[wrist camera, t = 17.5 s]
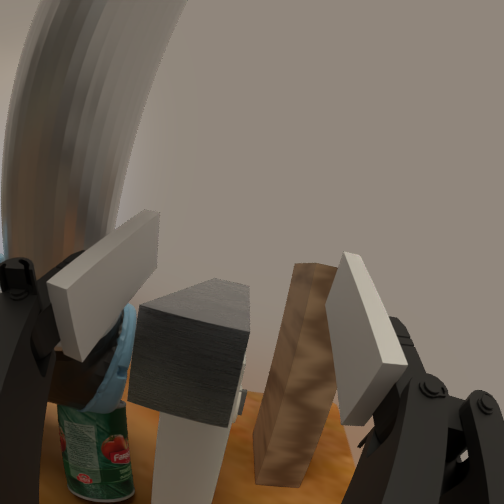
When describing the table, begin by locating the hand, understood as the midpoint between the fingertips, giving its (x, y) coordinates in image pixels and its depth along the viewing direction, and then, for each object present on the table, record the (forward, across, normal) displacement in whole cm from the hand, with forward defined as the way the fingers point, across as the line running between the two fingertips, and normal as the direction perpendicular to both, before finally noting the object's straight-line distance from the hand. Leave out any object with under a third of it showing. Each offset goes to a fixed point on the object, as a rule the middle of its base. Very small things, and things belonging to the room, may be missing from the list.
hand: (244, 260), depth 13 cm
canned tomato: (-5, -11, -29) cm, 31 cm away
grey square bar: (+5, -2, -10) cm, 11 cm away
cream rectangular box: (-3, -2, -31) cm, 31 cm away
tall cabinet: (+10, +9, -37) cm, 40 cm away
